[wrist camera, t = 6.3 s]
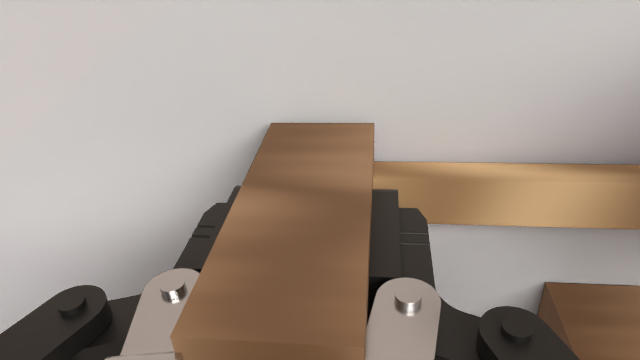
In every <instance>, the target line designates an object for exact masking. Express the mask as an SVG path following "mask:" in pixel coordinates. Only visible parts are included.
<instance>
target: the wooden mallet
mask: <svg viewBox="0 0 640 360" xmlns="http://www.w3.org/2000/svg"><path fill="white" fill-rule="evenodd" d="M372 189H398V202H399V208H418V209H419V211H420V212H421V213H422V214H423V216H424V217H425V218H426V219H427V224H463V225H499V226H536V227H573V228H610V229H640V165H603V164H523V163H442V162H374V123H271V125H270V127H269V129H268V131H267V133H266V135H265V137H264V140H263V142H262V144H261V146H260V148H259V150H258V152H257V154H256V156H255V159H254V161H253V163H252V165H251V167H250V169H249V171H248V173H247V175H246V177H245V180H244V182H243V184H242V186H241V188H240V190H239V192H238V194H237V196H236V198H235V201H234V203H233V205H232V207H231V209H230V211H229V213H228V215H227V217H226V219H225V222H224V224H223V226H222V228H221V230H220V232H219V234H218V236H217V238H216V241H215V243H214V245H213V247H212V249H211V251H210V253H209V255H208V257H207V259H206V262H205V264H204V266H203V268H202V270H201V272H200V274H199V276H198V278H197V280H196V283H195V285H194V287H193V289H192V291H191V293H190V295H189V297H188V299H187V302H186V304H185V306H184V308H183V310H182V312H181V314H180V316H179V318H178V320H177V323H176V325H175V327H174V329H173V331H172V333H171V335H170V338H171V342H172V345H173V349H174V352H175V353H178V352H182V355H183V359H184V360H365V350H366V328H367V325H368V321H369V257H370V233H371V209H372Z"/></svg>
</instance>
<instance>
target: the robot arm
mask: <svg viewBox="0 0 640 360" xmlns="http://www.w3.org/2000/svg"><path fill="white" fill-rule="evenodd" d="M240 188H241V186H236V187H235V188H234V190H233V192H232V194H231V196H230V198H229V200H228V202H227V203H216V204H215V205H214V206H213V207H211V208H210V209H209V210H208V211H206V212H205V213H204V214H203V216H202V218H201V220H200V222H199V223H198V225H197V228H196V229H195V231H194V232H193V234H192V238H190V240H189V241H188V243H187V245H186V247H185V249H184V250H183V252H182V254H181V256H180V258H179V259H178V261H177V263H176V265H175V267H174V269H172V270H168V271H165V272H163V273H161V274H159V275H157V276H155V277H154V278H153V279H151V280H150V281H149V282H148V283H147V285H146V286H145V287H144V290H143V292H142V294H140V295H136V296H131V297H126V298H121V299H116V300H111V301H108V300H107V297H106V295H105V292H104V291H103V290H102V289H101V288H99V287H96V286H92V285H82V286H76V287H73V288H69V289H67V290H64V291H62V292H60V293H58V294H57V295H55V296H54V297H52V298H51V299H49V300H48V301H47V302H45V303H44V304H42V305H41V306H40V307H38V308H37V309H35V310H34V311H32V312H31V313H30V314H28V315H27V316H25V317H24V318H23V319H21V320H20V321H18V322H17V323H16V324H14V325H13V326H11V327H10V328H8V329H7V330H6V331H4V332H3V333H1V334H0V360H184V359H183V355H182V352H178V353H175V352H174V349H173V345H172V342H171V338H170V335H171V333H172V331H173V329H174V327H175V325H176V323H177V320H178V318H179V316H180V314H181V312H182V310H183V308H184V306H185V304H186V302H187V299H188V297H189V295H190V293H191V291H192V289H193V287H194V285H195V283H196V280H197V278H198V276H199V274H200V272H201V270H202V268H203V266H204V264H205V262H206V259H207V257H208V255H209V253H210V251H211V249H212V247H213V245H214V243H215V241H216V238H217V236H218V234H219V232H220V230H221V228H222V226H223V224H224V222H225V219H226V217H227V215H228V213H229V211H230V209H231V207H232V205H233V203H234V201H235V198H236V196H237V194H238V192H239V190H240ZM365 360H580V359H579V358H578V357H577V356H576V355H575V354H574V353H573V352H572V350H571V349H570V348H569V347H568V346H567V345H566V344H565V343H564V342H563V341H562V340H561V339H560V338H559V337H558V336H557V334H556V333H555V332H554V331H553V330H552V329H551V328H550V327H549V326H548V325H547V324H546V323H545V322H544V321H543V320H542V319H541V318H539V317H538V316H537V315H535V314H533V313H531V312H529V311H527V310H524V309H521V308H517V307H510V306H502V307H496V308H493V309H490V310H489V311H487V312H486V313H485V314H484V315H483V316H482V317H478V316H474V315H471V314H468V313H465V312H462V311H459V310H457V309H455V308H453V307H451V306H450V305H448V304H447V303H446V302H445V301H444V300H443V299H442V298H441V297H440V296H439V294H438V293H437V291H436V289H435V284H434V275H433V267H432V259H431V251H430V242H429V235H428V226H427V219H426V218H425V217H424V216H423V214H422V213H421V212H420V211H419V209H418V208H399V202H398V189H372V209H371V233H370V257H369V321H368V325H367V328H366V350H365Z"/></svg>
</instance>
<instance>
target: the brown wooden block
mask: <svg viewBox="0 0 640 360" xmlns="http://www.w3.org/2000/svg"><path fill="white" fill-rule="evenodd" d="M537 316H538V317H539V318H541V319H542V320H543V321H544V322H545V323H546V324H547V325H548V326H549V327H550V328H551V329H552V330H553V331H554V332H555V333H556V334H557V336H558V337H559V338H560V339H561V340H562V341H563V342H564V343H565V344H566V345H567V346H568V347H569V348H570V349H571V350H572V352H573V353H574V354H575V355H576V356H577V357H578V358H579V359H580V360H640V286H623V285H598V284H573V283H549V282H546V283H545V287H544V291H543V295H542V299H541V303H540V307H539V311H538V315H537Z"/></svg>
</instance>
